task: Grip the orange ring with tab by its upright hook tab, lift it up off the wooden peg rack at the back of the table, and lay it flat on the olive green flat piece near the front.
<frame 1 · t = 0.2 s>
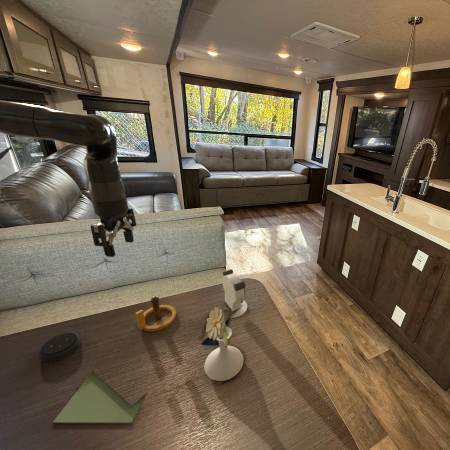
hand: (120, 248, 72), 32 cm above the table, tool pointing down, fingers open, 8 cm apart
flower in vase: (224, 369, 75), on the table
cell phone: (216, 329, 88), on the table, touching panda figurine
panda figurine: (233, 308, 98), on the table, touching cell phone
rack: (158, 321, 89), on the table
orange ring with tab: (158, 318, 88), point 1 cm above the table, touching rack
smart speaker: (63, 352, 75), on the table
olive green flat piece: (110, 395, 65), on the table
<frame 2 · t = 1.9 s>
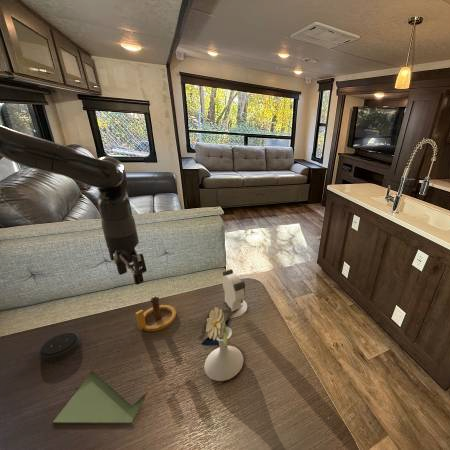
hand: (131, 278, 76), 22 cm above the table, tool pointing down, fingers open, 8 cm apart
nothing on the table moved.
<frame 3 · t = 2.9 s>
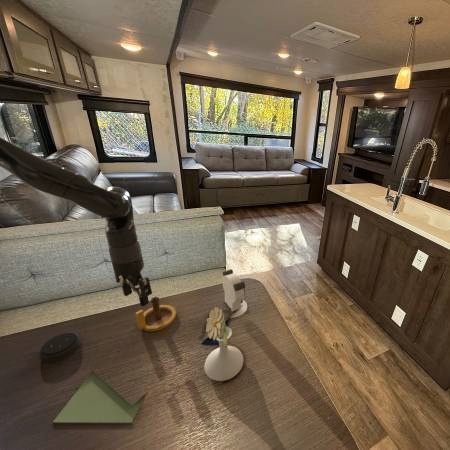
hand: (136, 299, 79), 14 cm above the table, tool pointing down, fingers open, 8 cm apart
nothing on the table moved.
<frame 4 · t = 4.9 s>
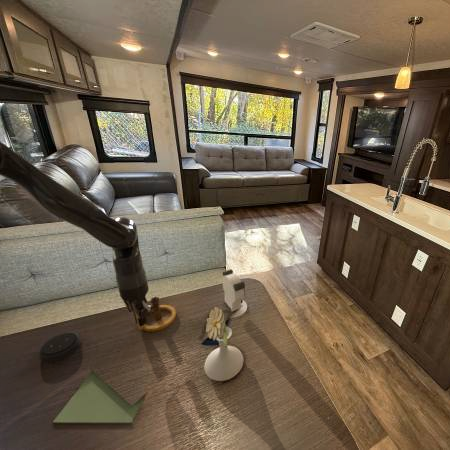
hand: (141, 323, 83), 4 cm above the table, tool pointing down, fingers closed on orange ring with tab
orange ring with tab: (158, 318, 88), point 2 cm above the table, touching gripper, rack
everything else where it was.
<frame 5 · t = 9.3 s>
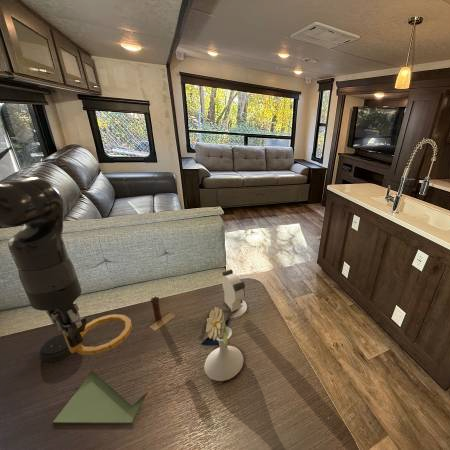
hand: (74, 342, 56), 21 cm above the table, tool pointing down, fingers closed on orange ring with tab
orange ring with tab: (104, 334, 61), point 18 cm above the table, touching gripper
everything else where it was.
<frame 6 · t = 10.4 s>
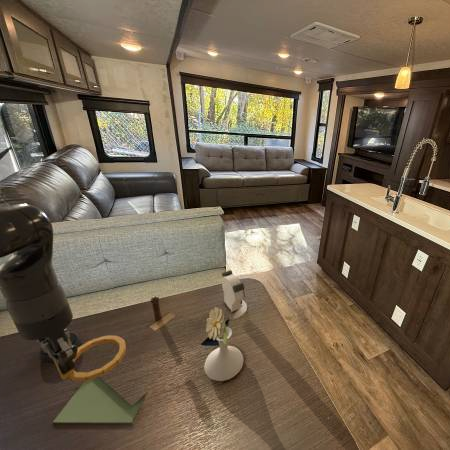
hand: (66, 368, 54), 17 cm above the table, tool pointing down, fingers closed on orange ring with tab
cell phone: (216, 330, 89), on the table
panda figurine: (232, 309, 98), on the table
orange ring with tab: (97, 358, 60), point 14 cm above the table, touching gripper
everything else where it was.
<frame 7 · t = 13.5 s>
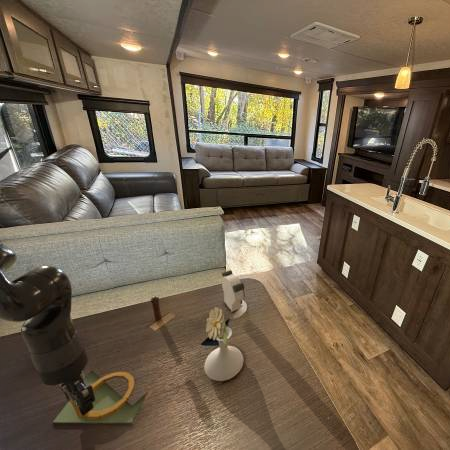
hand: (80, 404, 59), 5 cm above the table, tool pointing down, fingers open, 5 cm apart
orange ring with tab: (109, 395, 65), resting on olive green flat piece
everything else where it was.
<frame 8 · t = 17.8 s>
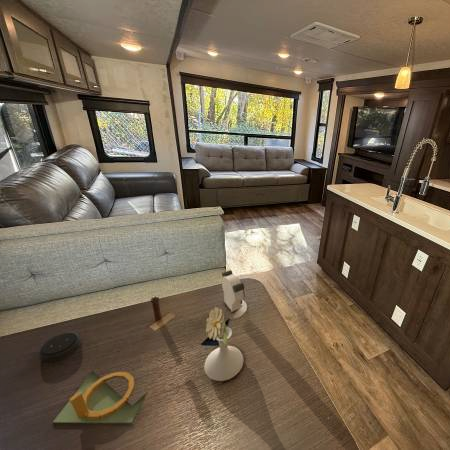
nothing on the table moved.
at the end: orange ring with tab inside the target area on the olive green flat piece (0.3 cm from its centre), point 0.4 cm above the olive green flat piece's base; orange ring with tab tilted 0°; the gripper is holding nothing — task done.
